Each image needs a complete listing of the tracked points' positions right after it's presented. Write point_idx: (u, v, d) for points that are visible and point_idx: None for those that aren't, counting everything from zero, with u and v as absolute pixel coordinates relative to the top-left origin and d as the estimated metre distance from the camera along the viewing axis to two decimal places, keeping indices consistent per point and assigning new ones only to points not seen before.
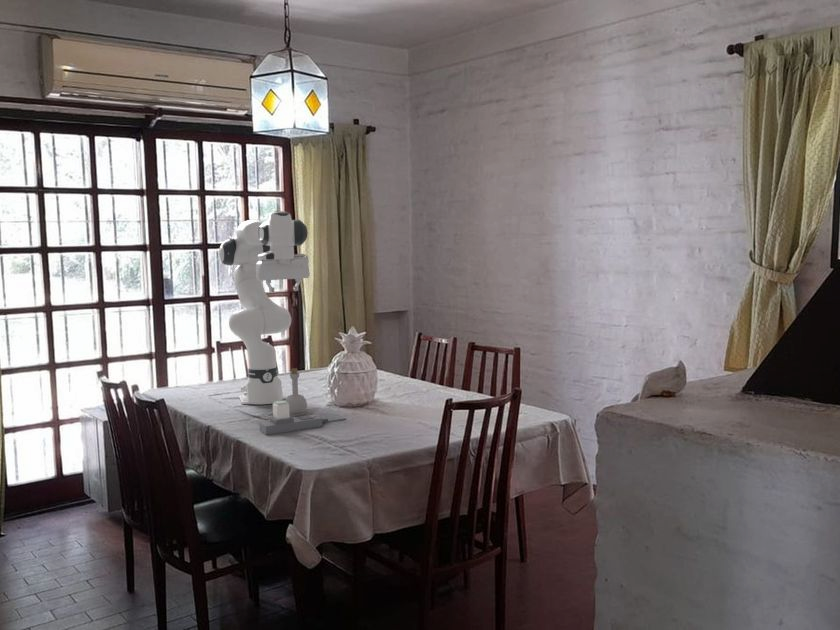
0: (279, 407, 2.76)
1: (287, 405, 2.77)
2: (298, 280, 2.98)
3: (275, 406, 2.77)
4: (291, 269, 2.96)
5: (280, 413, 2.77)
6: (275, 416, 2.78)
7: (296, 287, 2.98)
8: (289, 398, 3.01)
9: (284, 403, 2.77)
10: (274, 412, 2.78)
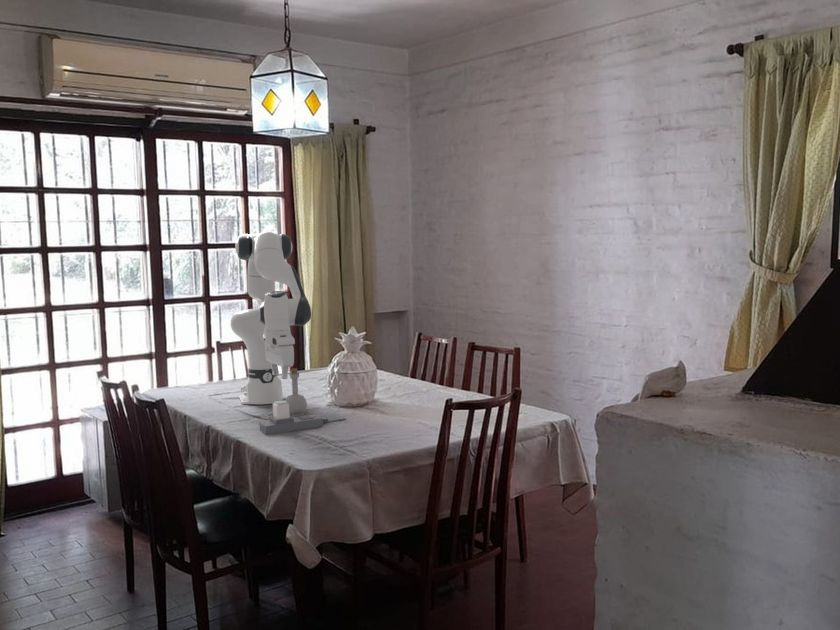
0: (279, 407, 2.76)
1: (287, 405, 2.77)
2: None
3: (275, 406, 2.77)
4: None
5: (280, 413, 2.77)
6: (275, 416, 2.78)
7: None
8: (289, 398, 3.01)
9: (284, 403, 2.77)
10: (274, 412, 2.78)
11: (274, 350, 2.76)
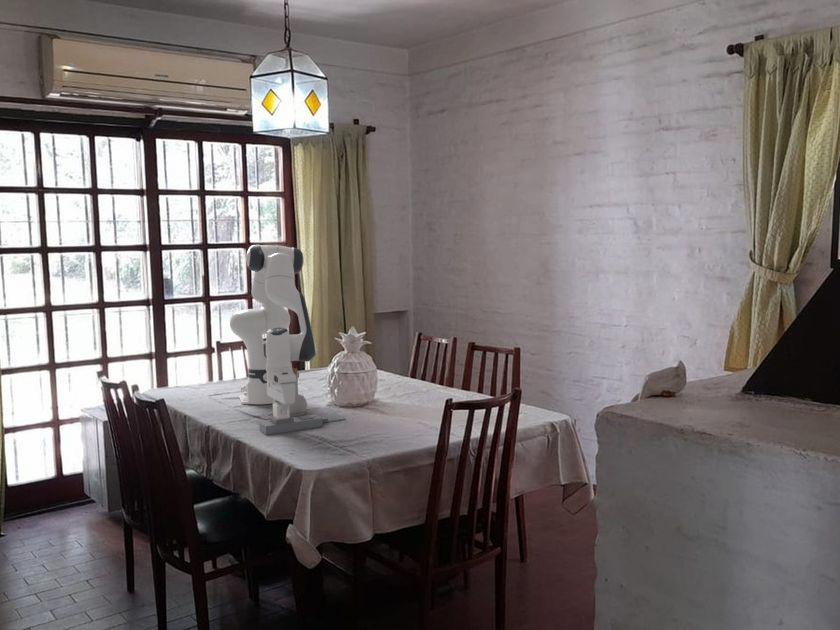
0: (279, 407, 2.76)
1: None
2: None
3: (275, 406, 2.77)
4: None
5: (280, 413, 2.77)
6: (275, 416, 2.78)
7: None
8: None
9: None
10: (274, 412, 2.78)
11: (276, 386, 2.77)
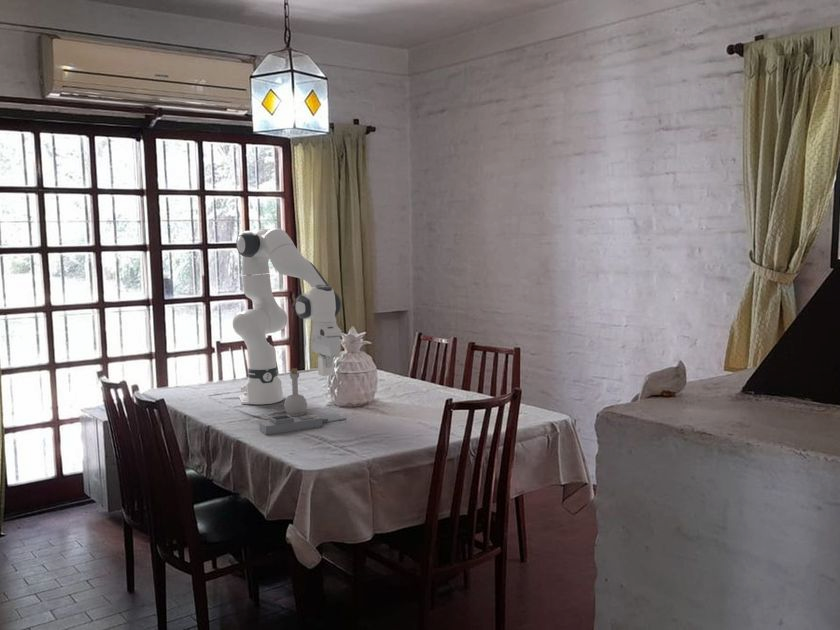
0: (324, 360, 2.90)
1: None
2: None
3: (320, 359, 2.91)
4: None
5: None
6: (320, 369, 2.91)
7: None
8: (289, 398, 3.01)
9: None
10: (319, 365, 2.92)
11: (321, 341, 2.91)
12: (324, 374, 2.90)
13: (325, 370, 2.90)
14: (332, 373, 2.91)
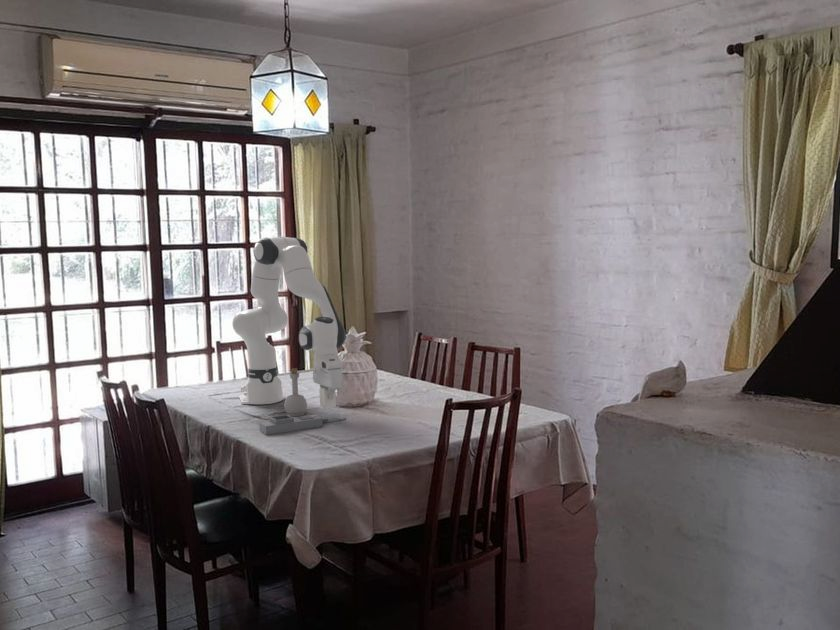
0: (326, 392, 2.91)
1: None
2: None
3: (322, 391, 2.92)
4: None
5: (327, 398, 2.91)
6: (322, 401, 2.92)
7: None
8: (289, 398, 3.01)
9: None
10: (321, 397, 2.93)
11: (322, 373, 2.92)
12: (326, 406, 2.91)
13: (327, 402, 2.91)
14: (334, 405, 2.93)
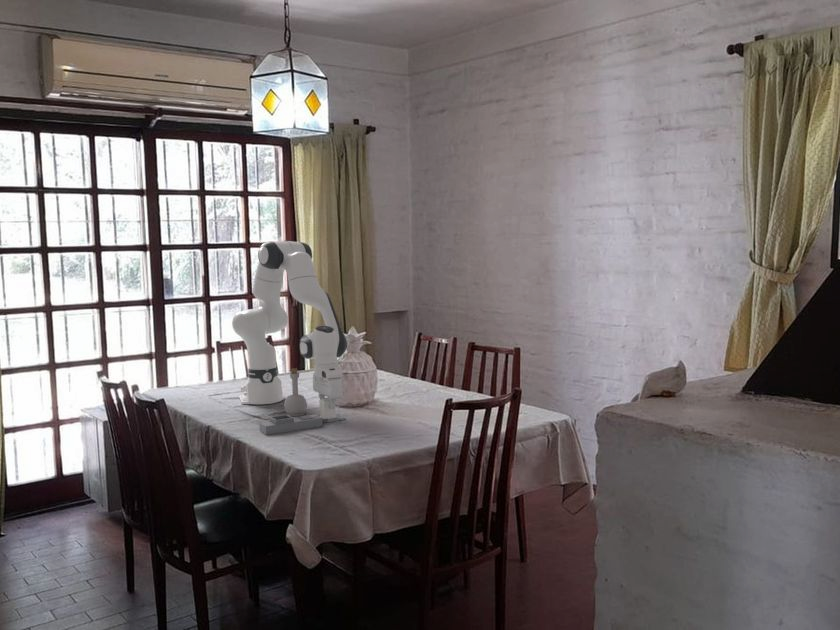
0: (326, 403, 2.91)
1: None
2: None
3: (322, 402, 2.92)
4: None
5: (327, 409, 2.92)
6: (322, 412, 2.93)
7: None
8: (289, 398, 3.01)
9: None
10: (321, 408, 2.94)
11: (322, 382, 2.92)
12: (326, 417, 2.92)
13: (327, 413, 2.92)
14: (334, 416, 2.93)
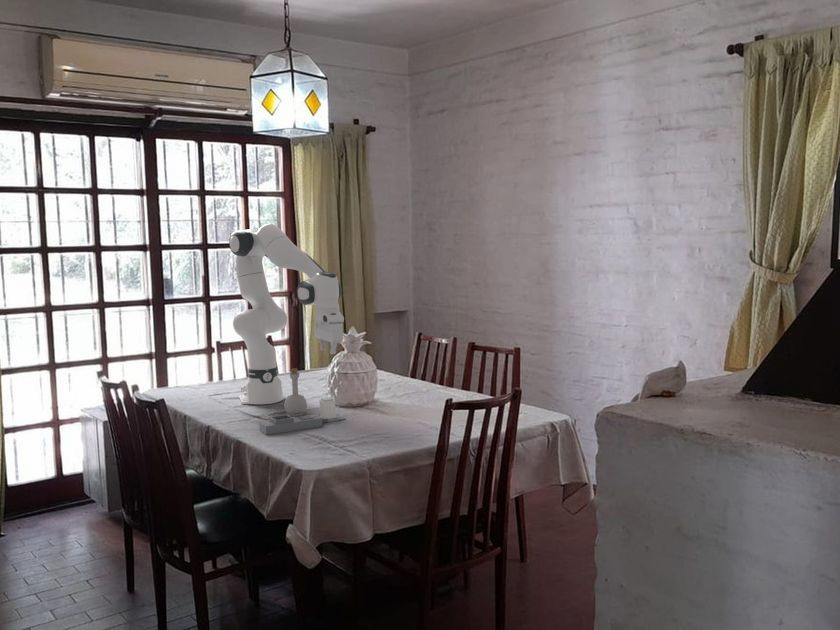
0: (326, 403, 2.91)
1: (333, 402, 2.93)
2: None
3: (322, 402, 2.92)
4: None
5: (327, 409, 2.92)
6: (322, 412, 2.93)
7: None
8: (289, 398, 3.01)
9: (330, 400, 2.92)
10: (321, 408, 2.94)
11: (323, 327, 2.94)
12: (326, 417, 2.92)
13: (327, 413, 2.92)
14: (334, 416, 2.93)
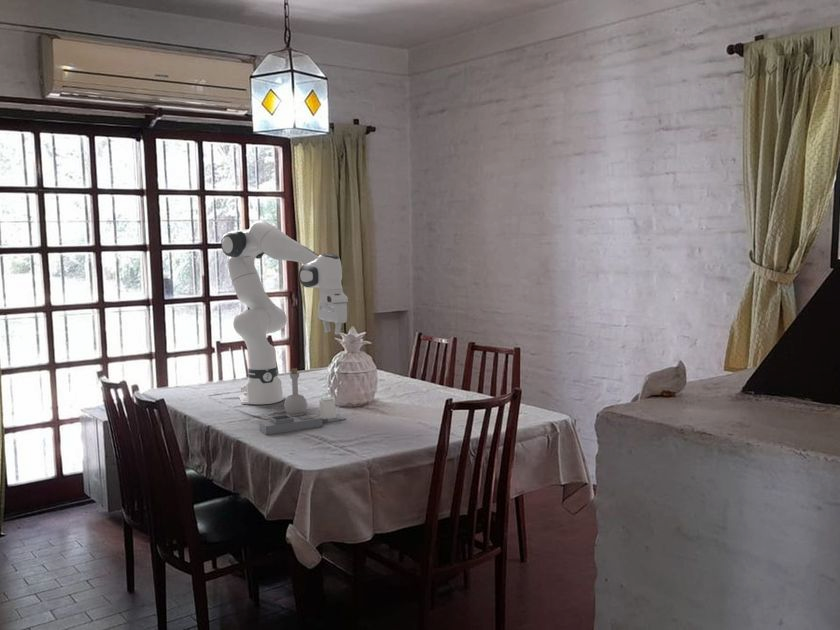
0: (326, 403, 2.91)
1: (333, 402, 2.93)
2: None
3: (322, 402, 2.92)
4: None
5: (327, 409, 2.92)
6: (322, 412, 2.93)
7: None
8: (289, 398, 3.01)
9: (330, 400, 2.92)
10: (321, 408, 2.94)
11: (328, 308, 2.98)
12: (326, 417, 2.92)
13: (327, 413, 2.92)
14: (334, 416, 2.93)
